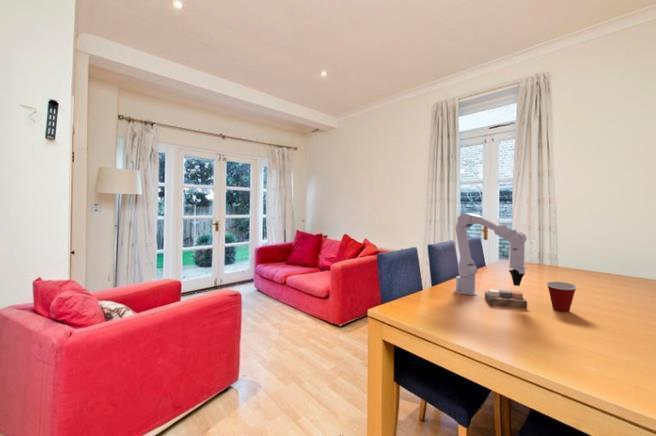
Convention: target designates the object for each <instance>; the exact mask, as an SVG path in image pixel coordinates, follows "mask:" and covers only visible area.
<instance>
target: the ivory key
mask: <svg viewBox="0 0 656 436" xmlns="http://www.w3.org/2000/svg"><path fill="white" fill-rule="evenodd" d="M487 292H488V295H489V296H493V297H499V296H500V292H499V290H498V289H488V290H487Z"/></svg>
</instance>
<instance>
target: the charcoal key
mask: <svg viewBox="0 0 656 436" xmlns="http://www.w3.org/2000/svg"><path fill="white" fill-rule="evenodd" d="M498 291H499V292H500V297H504V298H511V293H510V290H504V289H503V290H501V289H499V290H498Z"/></svg>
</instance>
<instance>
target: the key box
mask: <svg viewBox="0 0 656 436" xmlns="http://www.w3.org/2000/svg"><path fill="white" fill-rule="evenodd" d="M484 300H485V301H486V302H487V303H488V305H489V306H493V307H501V308H502V307H503V308H511V309H524V310H527V309H528V301H527V300H526V299H525V298H524V297H523V299H516V298H512V297H511V298H504V297H500V296H499V297H493V296H489V295H488V291H485V292H484Z"/></svg>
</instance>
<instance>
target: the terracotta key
mask: <svg viewBox="0 0 656 436" xmlns="http://www.w3.org/2000/svg"><path fill="white" fill-rule="evenodd" d="M509 292H510V293H511V297H512V298H516V299H523V298H524V297H523V296H524V295H523V294H524V293H523V292H521V291H515V290H509Z"/></svg>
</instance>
